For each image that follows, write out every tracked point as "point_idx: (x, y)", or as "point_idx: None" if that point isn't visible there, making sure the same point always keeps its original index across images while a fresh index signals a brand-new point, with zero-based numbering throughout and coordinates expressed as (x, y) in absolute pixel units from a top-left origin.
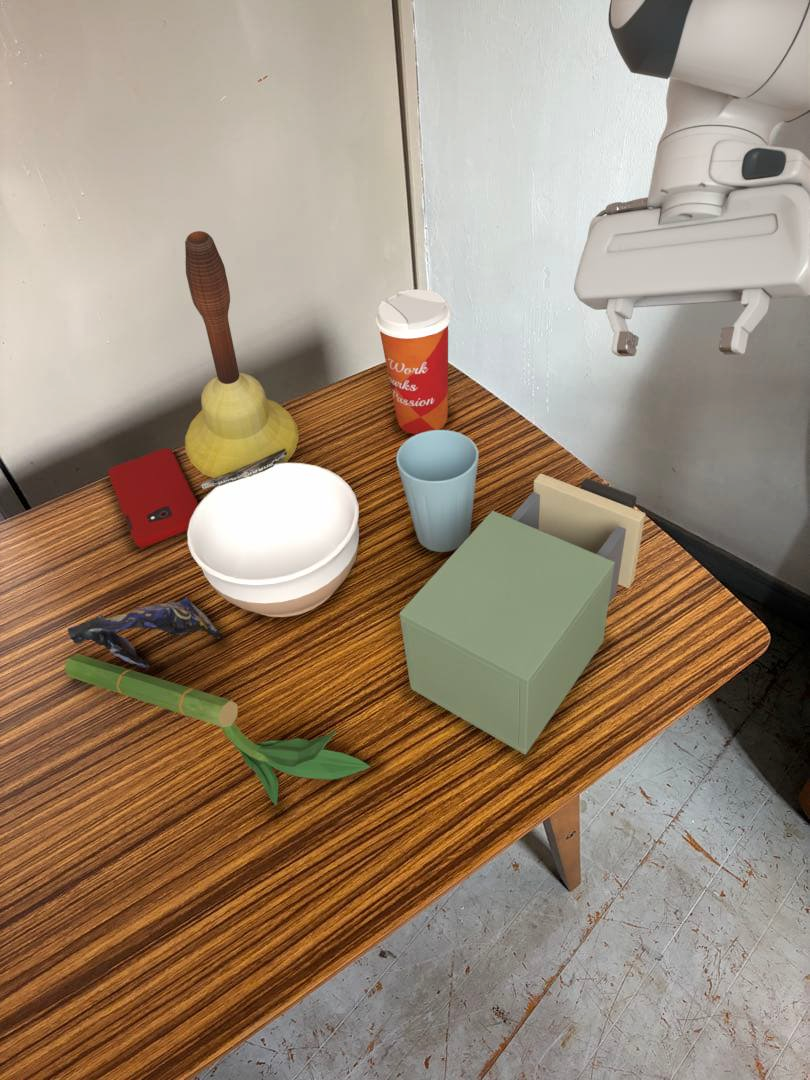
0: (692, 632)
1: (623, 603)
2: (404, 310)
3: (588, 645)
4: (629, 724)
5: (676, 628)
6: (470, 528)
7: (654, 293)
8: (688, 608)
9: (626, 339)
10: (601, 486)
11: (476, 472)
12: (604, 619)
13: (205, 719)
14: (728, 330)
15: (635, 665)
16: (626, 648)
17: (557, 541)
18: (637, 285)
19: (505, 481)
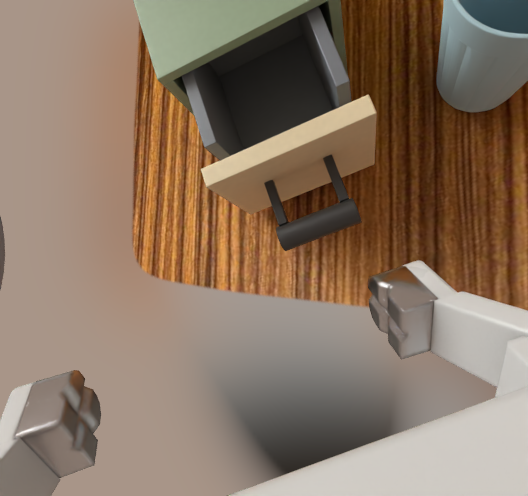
0: (177, 222)
1: None
2: None
3: None
4: (148, 106)
5: (189, 213)
6: (453, 103)
7: (385, 438)
8: (198, 242)
9: (392, 290)
10: (327, 217)
11: (464, 40)
12: None
13: None
14: (36, 422)
15: (184, 150)
16: (202, 156)
17: (228, 36)
18: (508, 434)
19: (518, 209)
